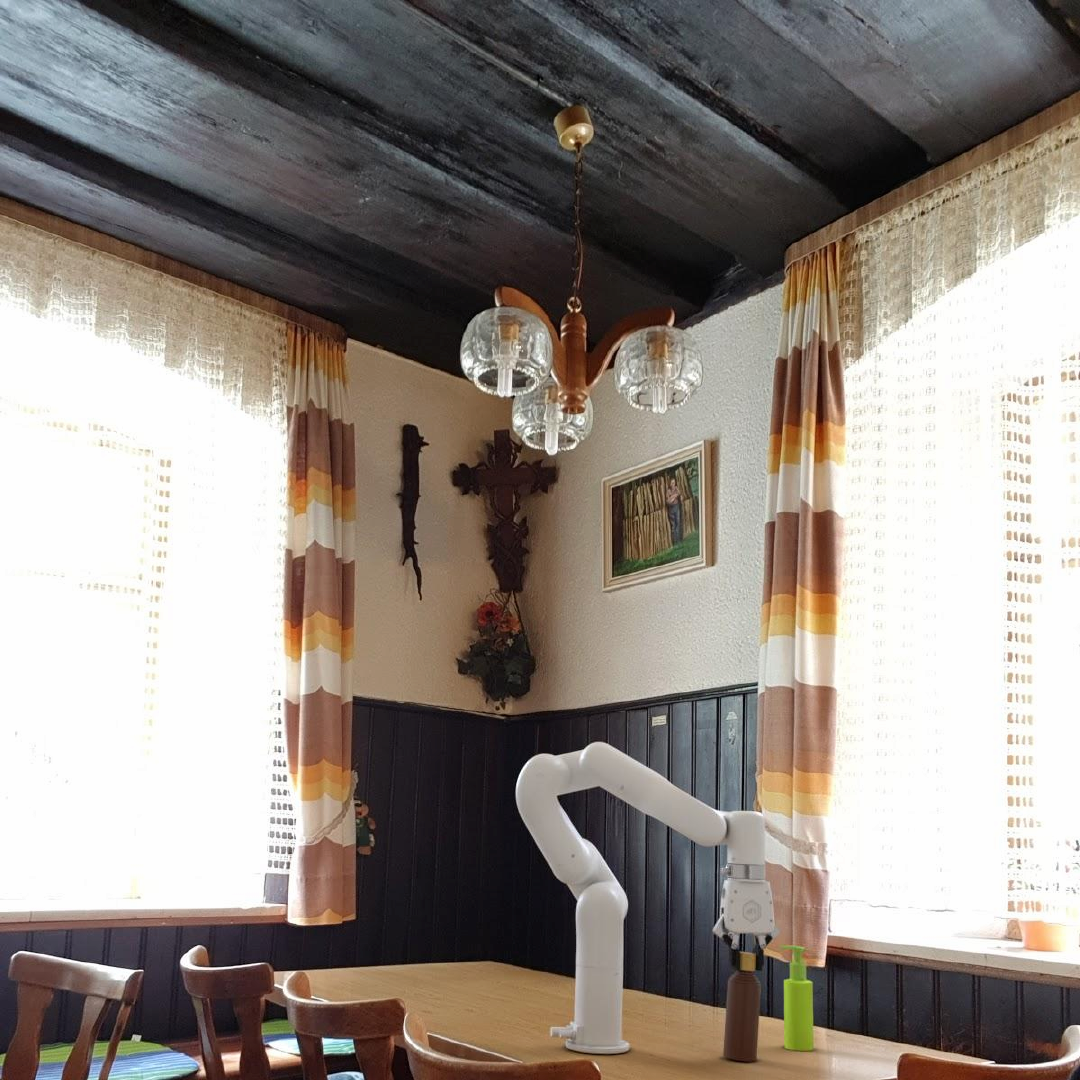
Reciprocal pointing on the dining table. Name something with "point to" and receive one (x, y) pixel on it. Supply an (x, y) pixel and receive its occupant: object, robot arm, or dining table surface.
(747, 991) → the bottle
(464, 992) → the dining table surface
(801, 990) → the soap dispenser
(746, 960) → the cap
